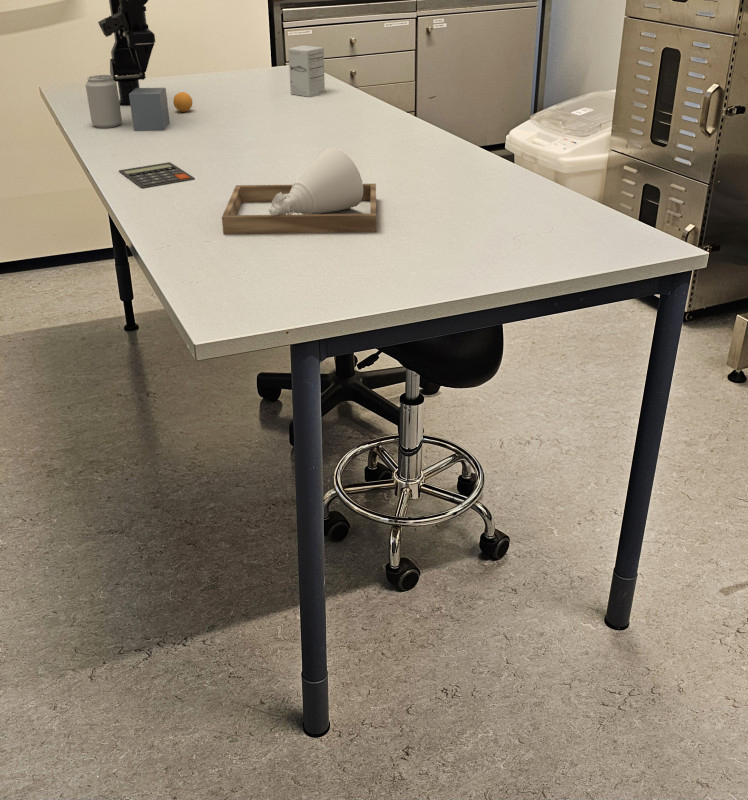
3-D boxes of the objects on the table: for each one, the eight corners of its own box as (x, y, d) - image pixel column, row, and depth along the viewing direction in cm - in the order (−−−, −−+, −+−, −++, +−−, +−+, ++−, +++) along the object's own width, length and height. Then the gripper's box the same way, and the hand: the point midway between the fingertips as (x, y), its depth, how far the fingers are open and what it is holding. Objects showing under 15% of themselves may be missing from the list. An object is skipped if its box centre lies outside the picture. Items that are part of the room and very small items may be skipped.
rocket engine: (258, 174, 158) (335, 136, 166) (239, 205, 168) (313, 167, 176) (297, 230, 158) (372, 189, 167) (275, 257, 168) (347, 217, 177)
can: (118, 128, 232) (110, 79, 226) (88, 128, 232) (80, 79, 226) (125, 121, 238) (118, 73, 232) (97, 121, 238) (89, 73, 233)
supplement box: (289, 94, 265) (287, 48, 259) (306, 90, 270) (304, 44, 264) (309, 97, 261) (307, 50, 255) (326, 93, 266) (324, 46, 260)
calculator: (141, 186, 187) (118, 169, 198) (141, 191, 187) (118, 173, 198) (195, 177, 192) (169, 161, 203) (195, 181, 192) (170, 165, 204)
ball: (176, 109, 250) (174, 90, 247) (194, 109, 250) (192, 90, 247) (172, 113, 245) (170, 94, 243) (191, 113, 245) (189, 94, 243)
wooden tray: (237, 200, 179) (235, 185, 178) (376, 198, 179) (375, 183, 178) (223, 233, 163) (221, 217, 161) (376, 231, 163) (376, 215, 161)
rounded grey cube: (140, 123, 236) (135, 88, 232) (169, 123, 236) (165, 87, 232) (134, 130, 230) (128, 94, 225) (164, 130, 230) (159, 93, 225)
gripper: (92, -1, 229) (102, 65, 237) (103, 8, 214) (113, 78, 222) (138, -4, 232) (146, 61, 240) (151, 5, 217) (159, 74, 225)
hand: (140, 68), depth 232 cm, fingers open, 9 cm apart
